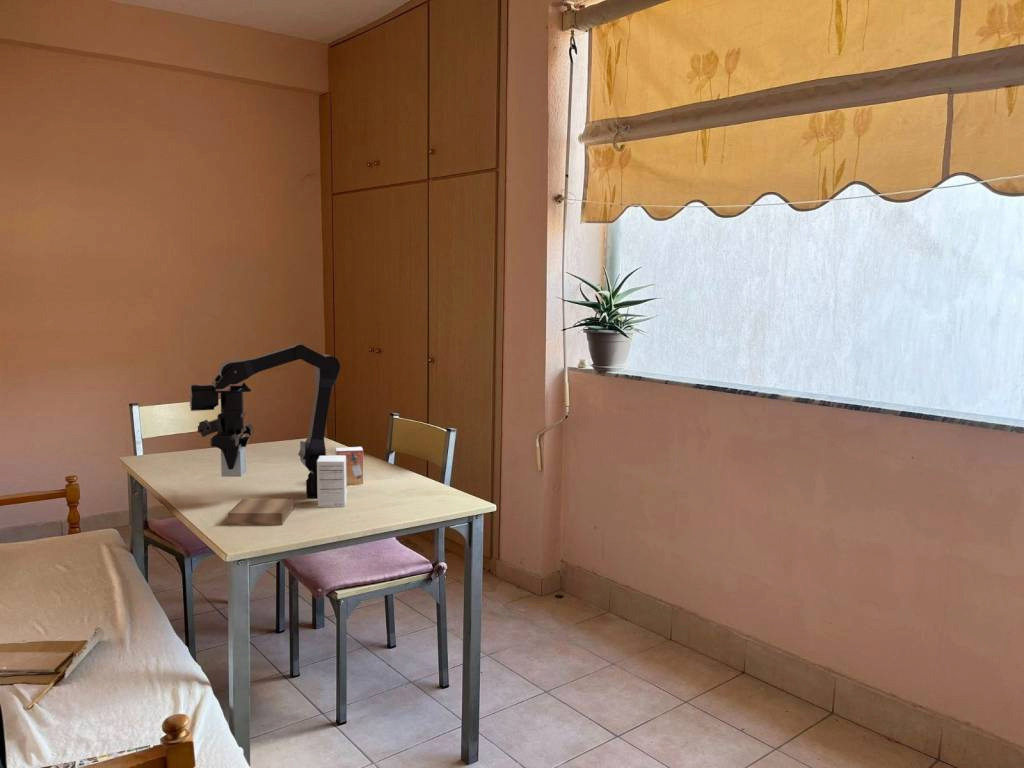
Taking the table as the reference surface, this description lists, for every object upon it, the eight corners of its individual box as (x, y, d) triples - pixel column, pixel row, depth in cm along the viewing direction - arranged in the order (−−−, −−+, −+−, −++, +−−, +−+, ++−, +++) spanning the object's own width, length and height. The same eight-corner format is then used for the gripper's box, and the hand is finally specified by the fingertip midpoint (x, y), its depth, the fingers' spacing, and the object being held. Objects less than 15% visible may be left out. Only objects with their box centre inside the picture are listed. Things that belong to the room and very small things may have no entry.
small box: (336, 486, 232) (335, 450, 230) (335, 481, 237) (334, 447, 236) (363, 484, 234) (363, 449, 232) (362, 480, 239) (361, 446, 238)
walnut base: (293, 509, 206) (293, 498, 206) (282, 524, 194) (281, 513, 193) (242, 510, 206) (242, 498, 205) (228, 525, 193) (227, 513, 192)
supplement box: (319, 500, 216) (319, 455, 215) (347, 499, 217) (346, 454, 216) (316, 507, 209) (316, 461, 207) (345, 507, 210) (344, 460, 208)
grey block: (246, 472, 212) (245, 446, 212) (240, 476, 207) (240, 450, 207) (227, 472, 212) (226, 446, 211) (221, 476, 207) (220, 450, 206)
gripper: (212, 403, 216) (213, 459, 218) (188, 414, 198) (190, 475, 200) (253, 403, 217) (254, 459, 219) (234, 414, 199) (235, 475, 200)
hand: (233, 466), depth 210 cm, fingers closed on grey block, 5 cm apart
